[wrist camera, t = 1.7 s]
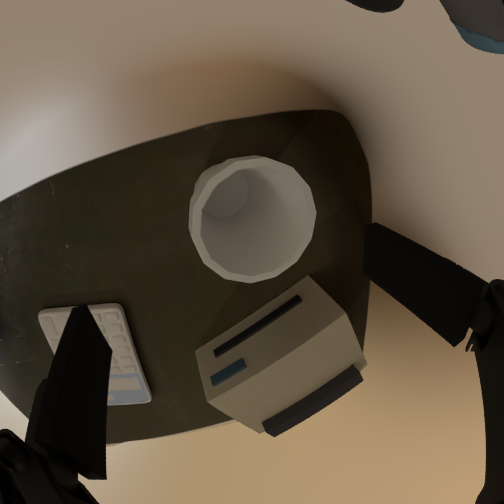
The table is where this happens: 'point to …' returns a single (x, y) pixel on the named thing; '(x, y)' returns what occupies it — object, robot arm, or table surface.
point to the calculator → (119, 339)
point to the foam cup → (251, 218)
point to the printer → (282, 361)
